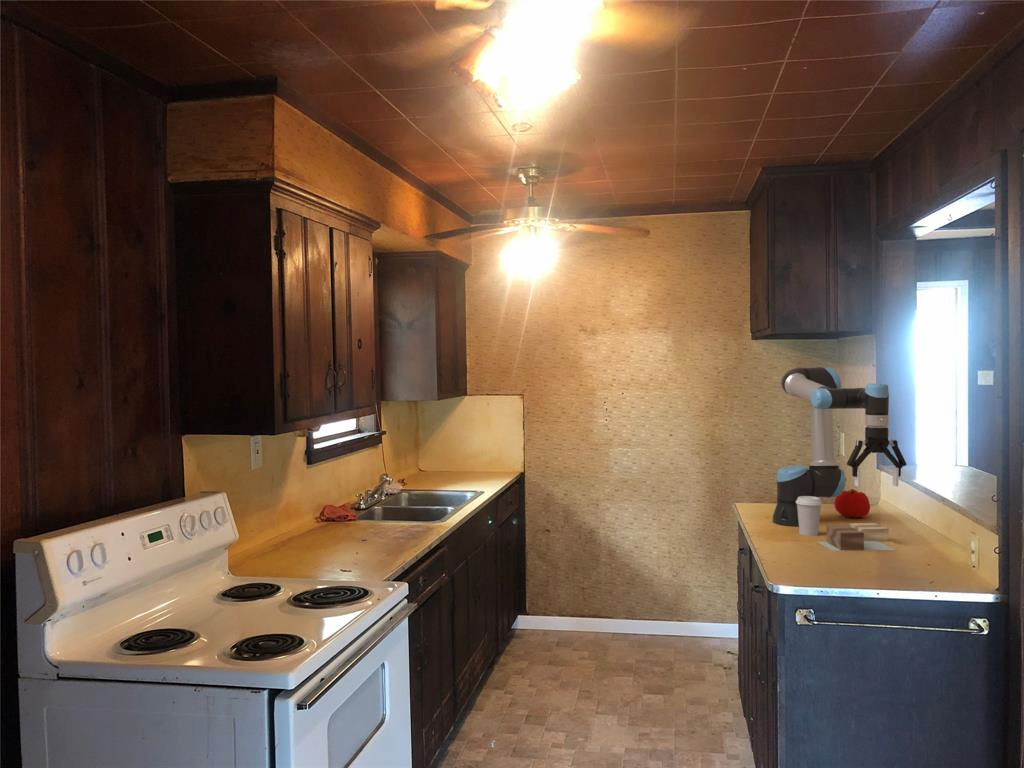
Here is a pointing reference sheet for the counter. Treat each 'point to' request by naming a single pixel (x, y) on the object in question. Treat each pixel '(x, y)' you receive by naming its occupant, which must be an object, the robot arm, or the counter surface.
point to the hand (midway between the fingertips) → (876, 485)
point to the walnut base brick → (845, 538)
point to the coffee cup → (808, 515)
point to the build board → (867, 546)
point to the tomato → (852, 504)
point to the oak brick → (872, 531)
